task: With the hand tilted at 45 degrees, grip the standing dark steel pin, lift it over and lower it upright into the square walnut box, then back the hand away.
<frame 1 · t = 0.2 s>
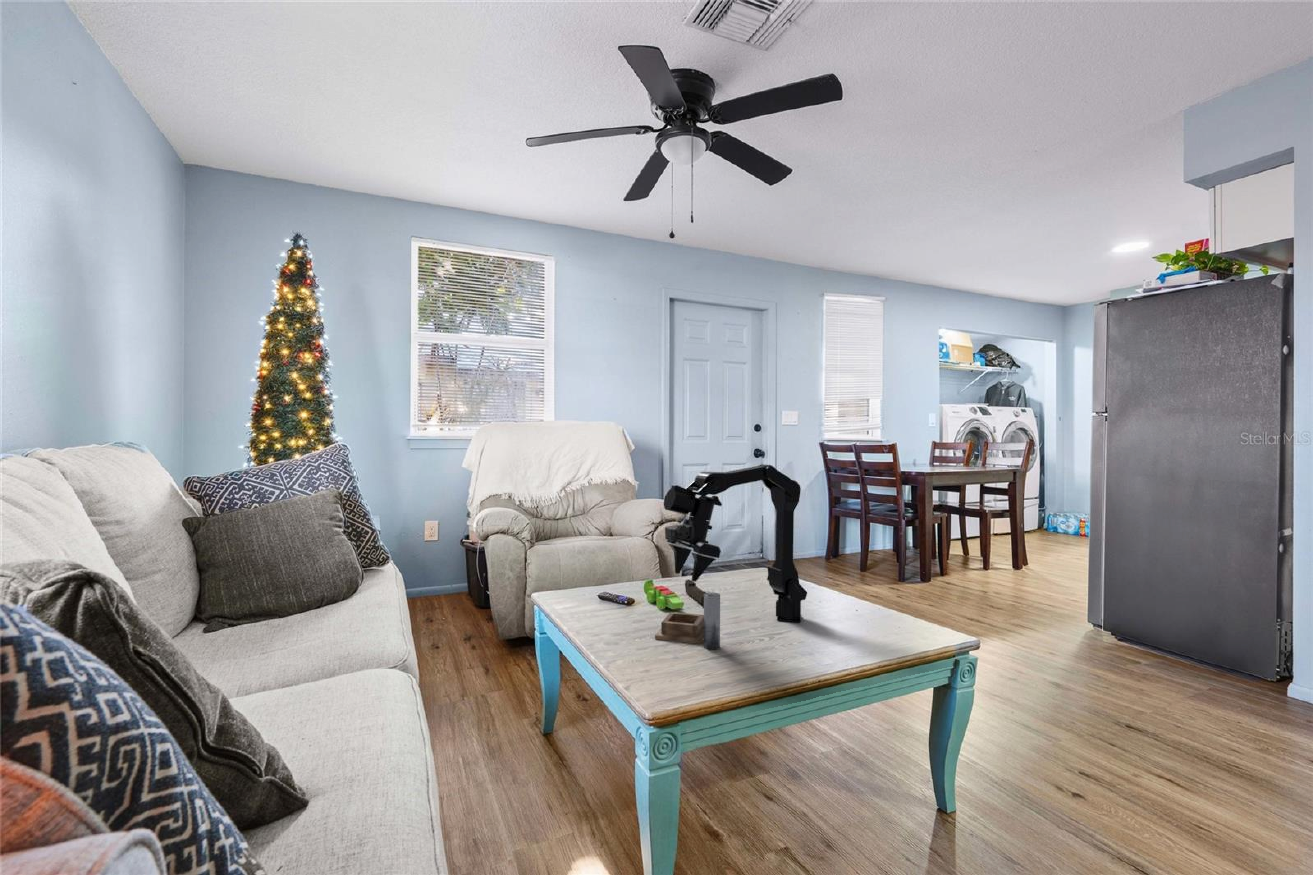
hand: (685, 577, 156), 15 cm above the table, tool tilted 15°, fingers open, 9 cm apart
steel pin: (711, 647, 147), on the table
walnut box: (683, 633, 157), on the table
toy crocodile: (663, 606, 184), on the table
hand tool: (695, 600, 190), on the table
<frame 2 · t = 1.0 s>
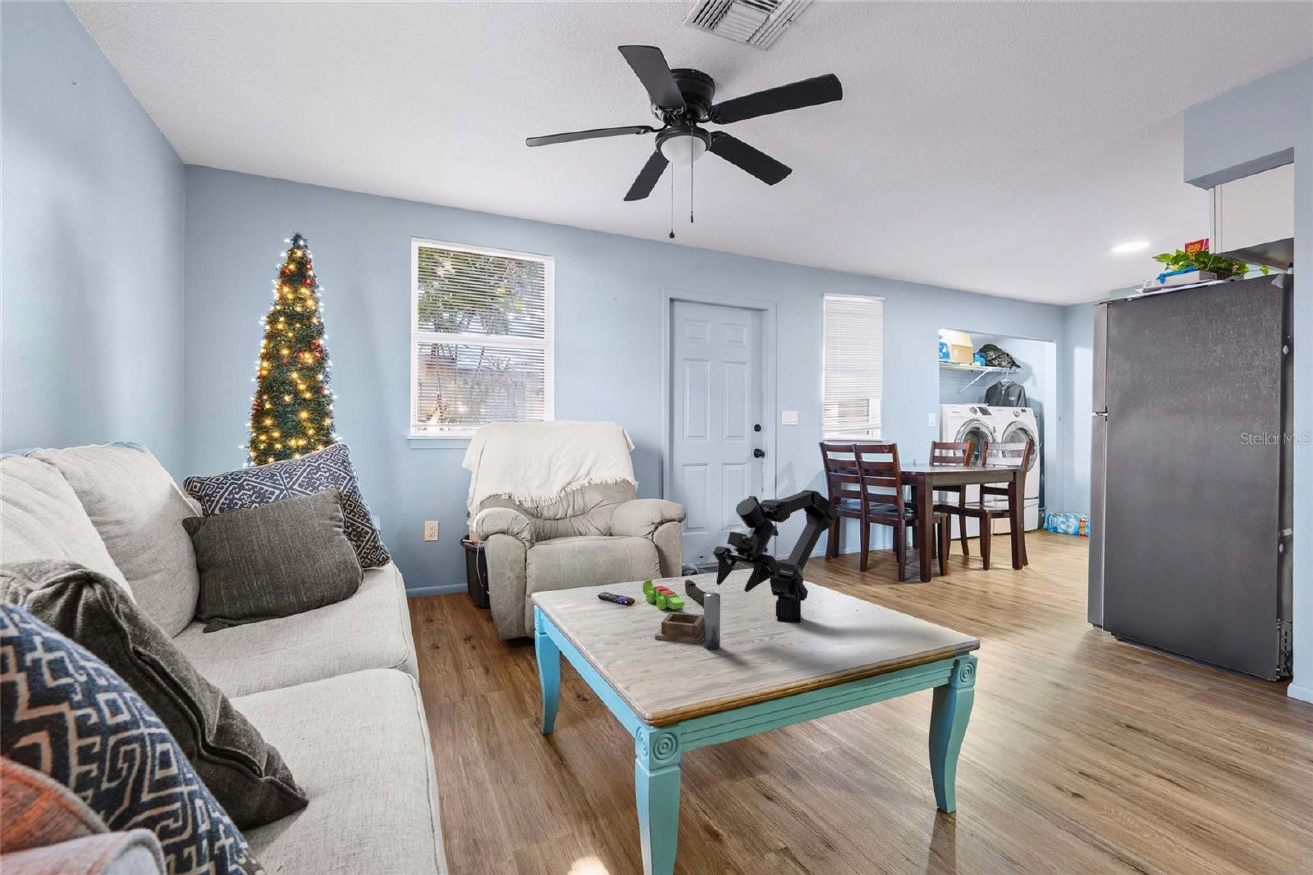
hand: (731, 587, 153), 13 cm above the table, tool tilted 45°, fingers open, 9 cm apart
nothing on the table moved.
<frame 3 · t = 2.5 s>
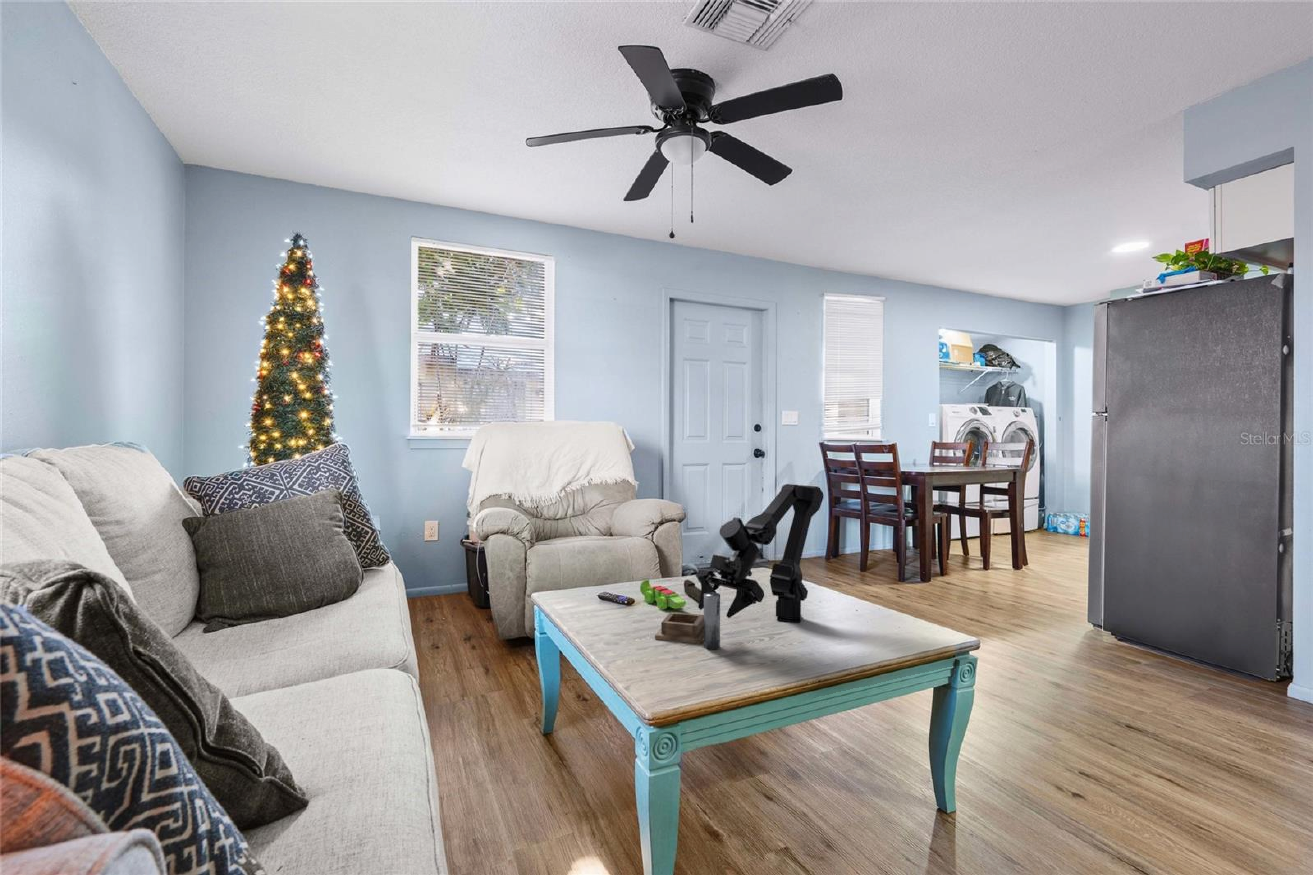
hand: (713, 612, 148), 8 cm above the table, tool tilted 45°, fingers open, 9 cm apart
nothing on the table moved.
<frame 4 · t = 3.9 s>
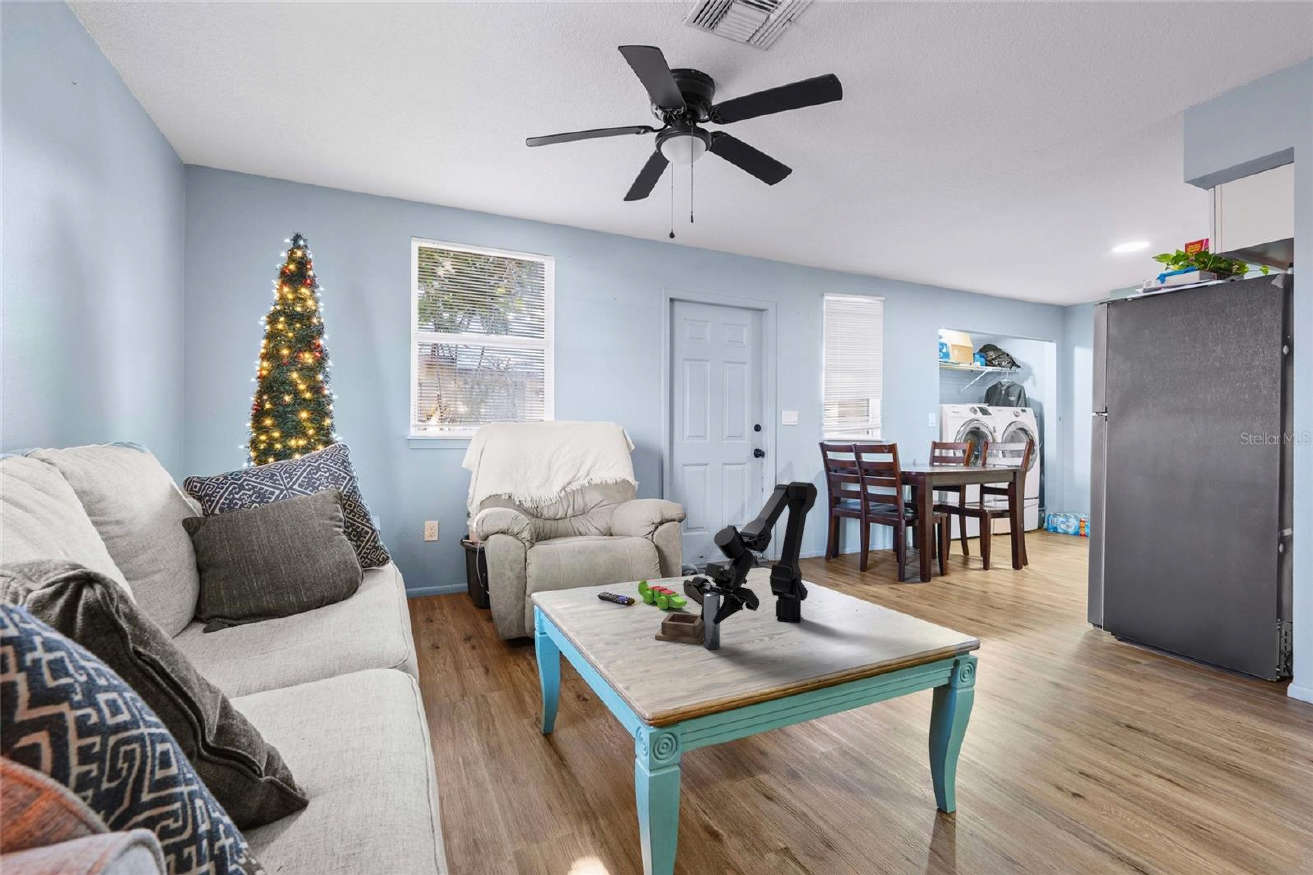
hand: (708, 621, 146), 7 cm above the table, tool tilted 45°, fingers closed on steel pin, 4 cm apart
steel pin: (711, 647, 147), on the table, touching gripper
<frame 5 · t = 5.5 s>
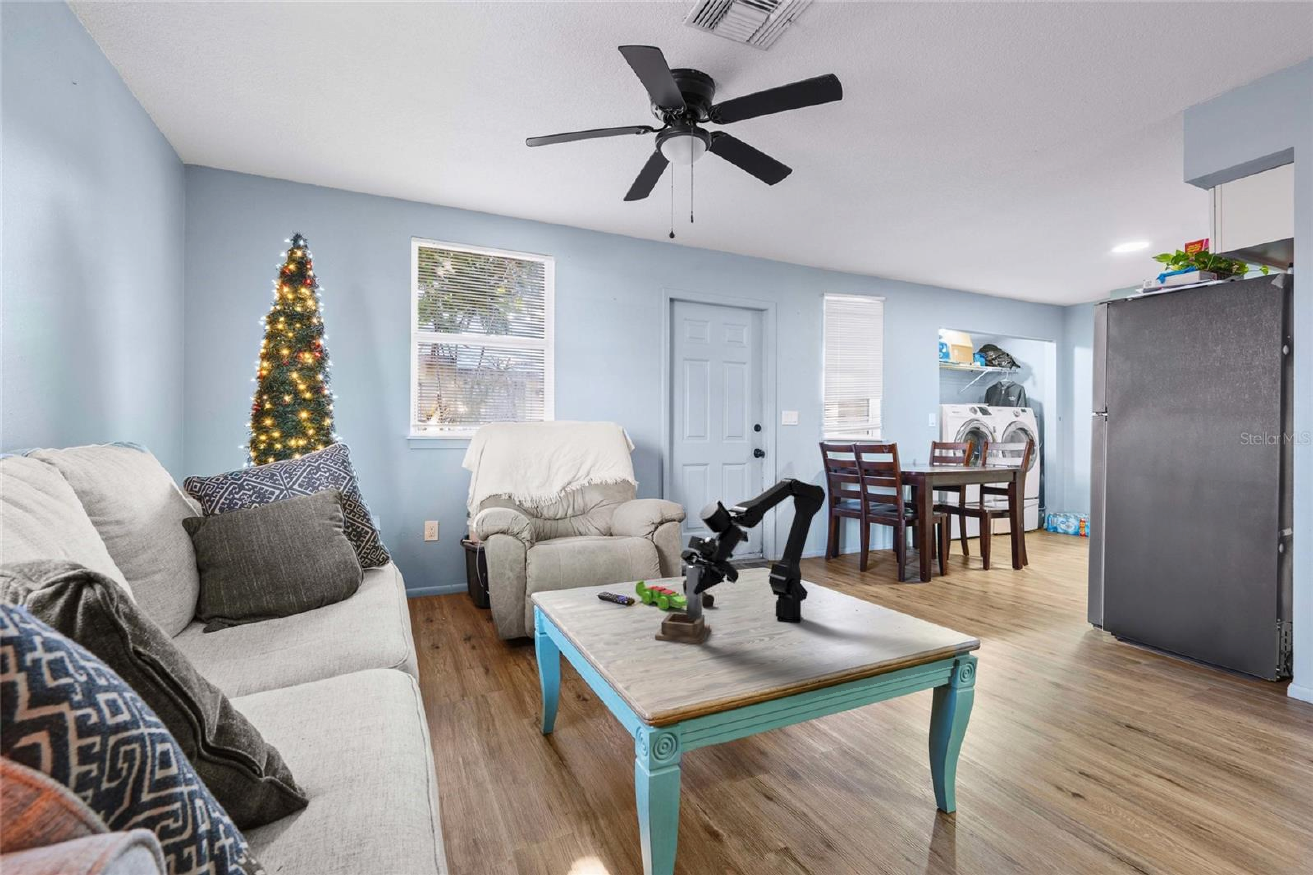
hand: (689, 591, 152), 12 cm above the table, tool tilted 45°, fingers closed on steel pin, 4 cm apart
steel pin: (694, 616, 153), point 6 cm above the table, touching gripper
when the fingers open (9 cm above the table, at t = 7.0 s): steel pin drops 1 cm, resting on walnut box.
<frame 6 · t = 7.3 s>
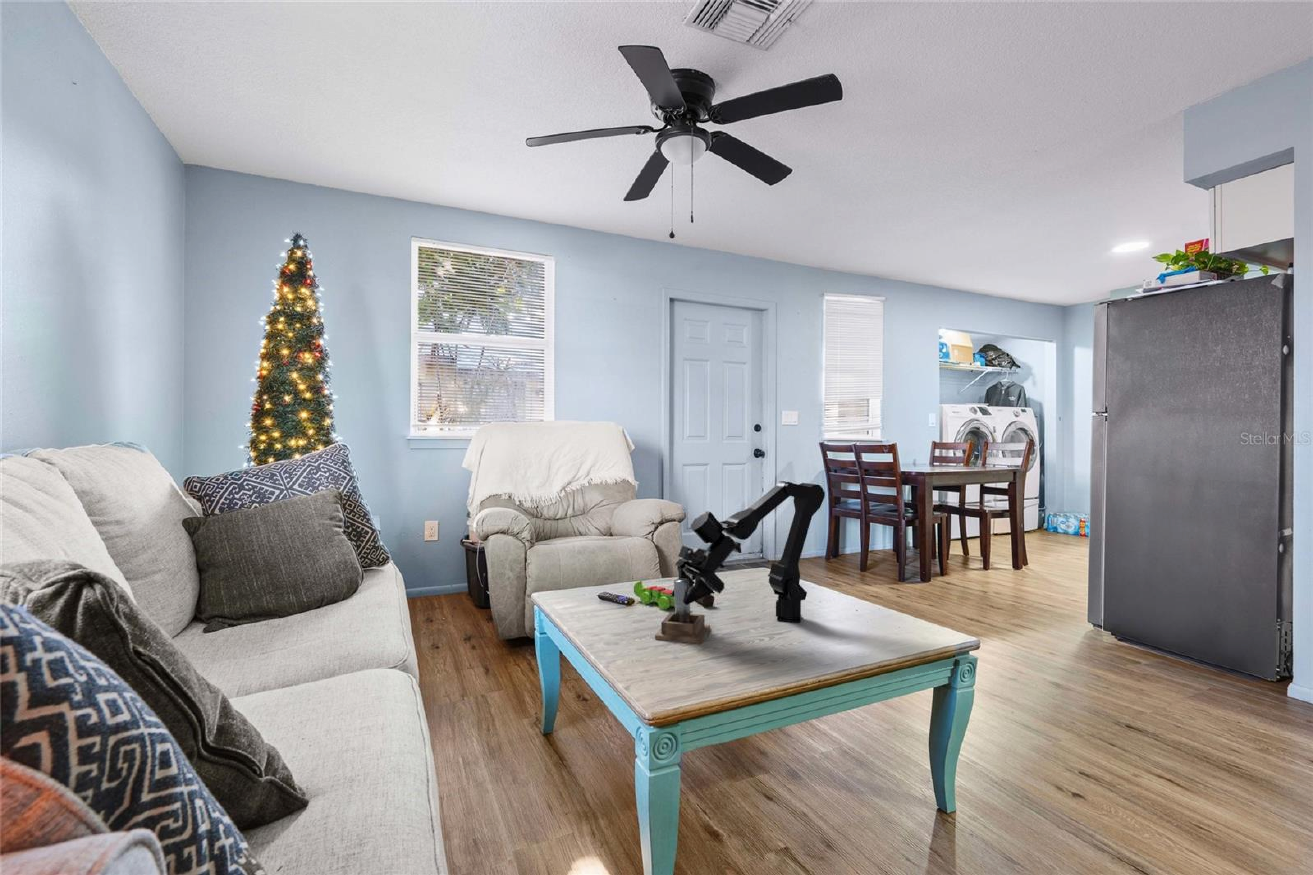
hand: (678, 600, 157), 9 cm above the table, tool tilted 45°, fingers open, 7 cm apart
steel pin: (683, 629, 157), point 1 cm above the table, touching walnut box
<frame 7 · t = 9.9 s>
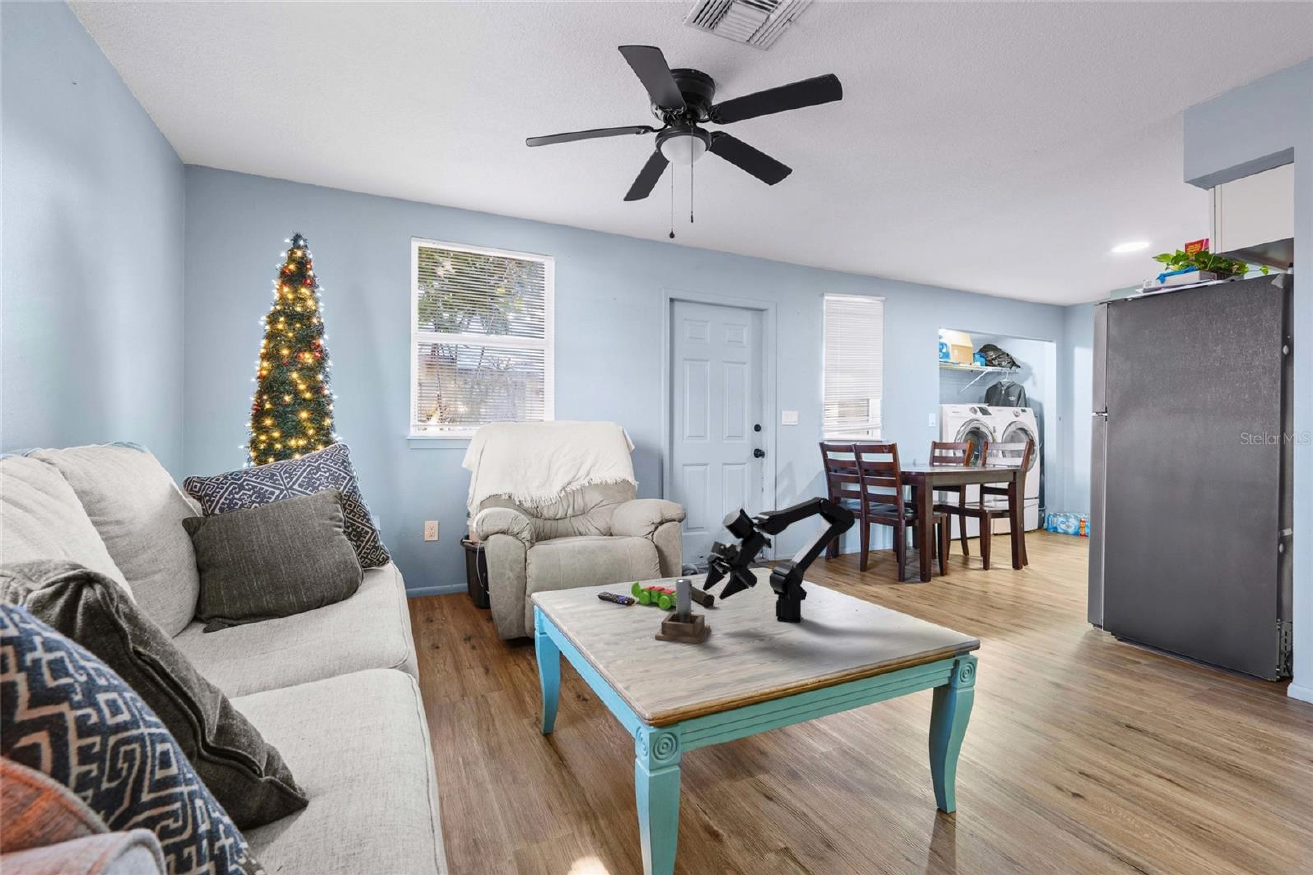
hand: (711, 594, 160), 10 cm above the table, tool tilted 45°, fingers open, 9 cm apart
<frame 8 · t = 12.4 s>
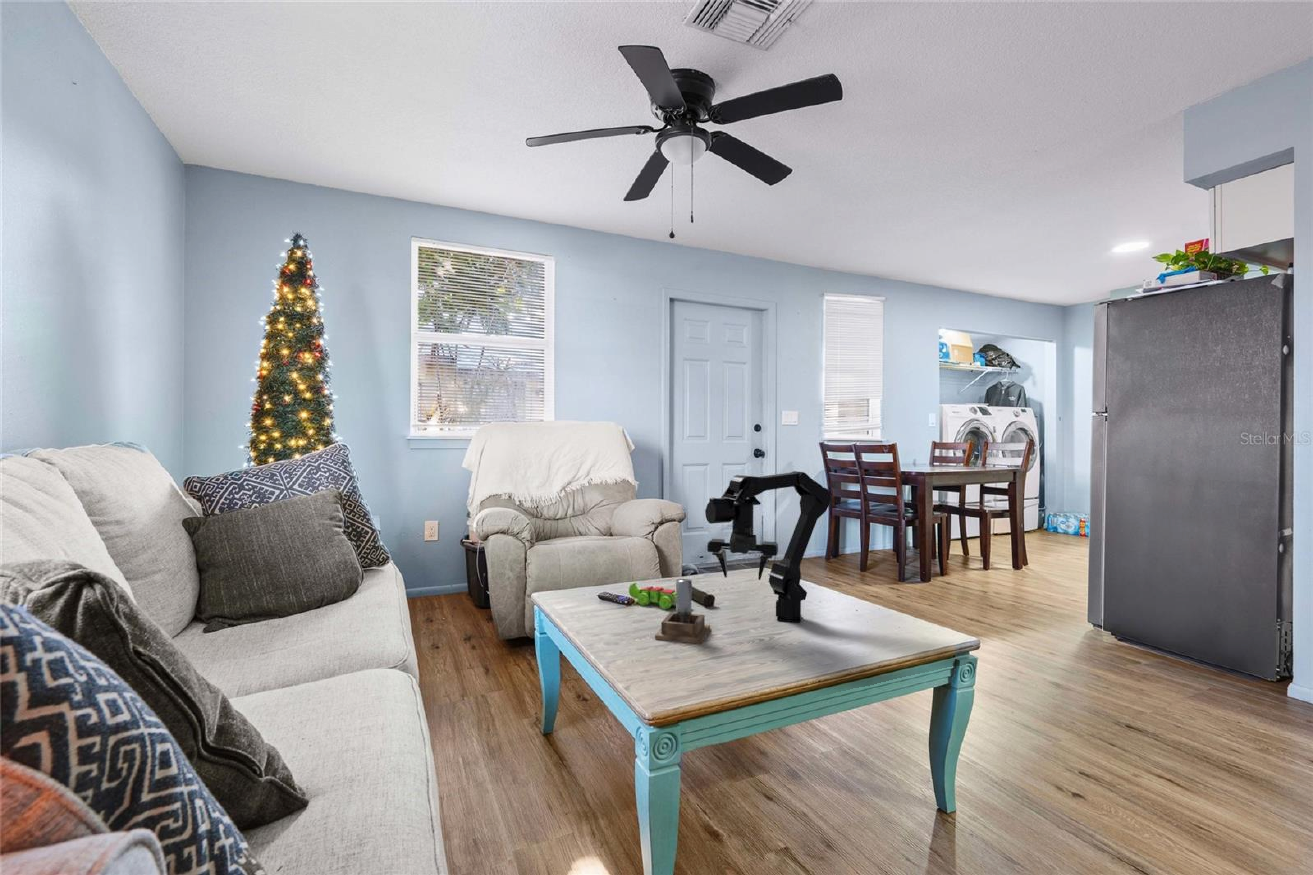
hand: (742, 578, 164), 13 cm above the table, tool pointing down, fingers open, 9 cm apart
at the end: steel pin 0.1 cm off-centre on the walnut box, point 1.0 cm above the walnut box's base; steel pin tilted 0°; the gripper is holding nothing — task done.
